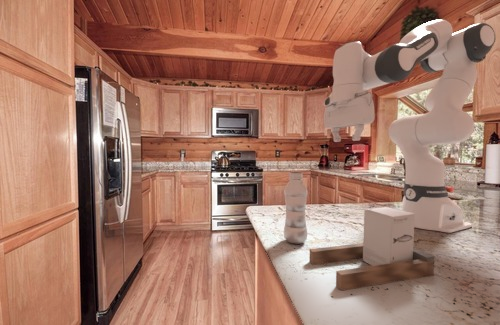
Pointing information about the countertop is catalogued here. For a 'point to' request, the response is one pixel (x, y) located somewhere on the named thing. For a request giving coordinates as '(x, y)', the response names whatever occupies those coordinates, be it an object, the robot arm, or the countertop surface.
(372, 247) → the supplement box
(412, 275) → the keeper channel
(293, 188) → the plastic bottle
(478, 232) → the countertop surface
